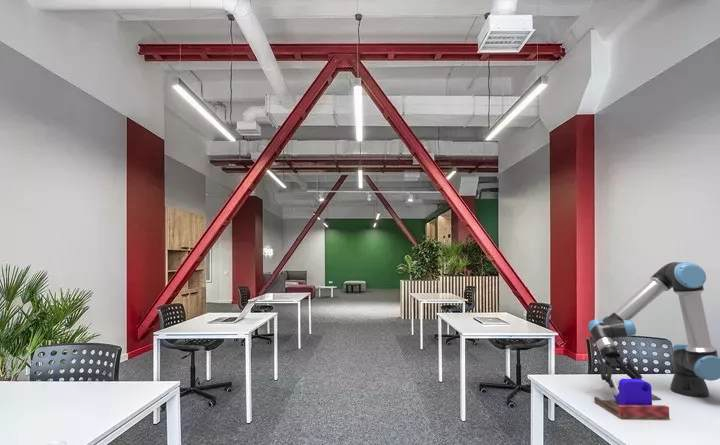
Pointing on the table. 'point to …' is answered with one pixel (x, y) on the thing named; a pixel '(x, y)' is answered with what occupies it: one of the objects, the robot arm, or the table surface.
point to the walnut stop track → (634, 410)
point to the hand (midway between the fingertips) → (630, 394)
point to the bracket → (634, 392)
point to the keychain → (655, 397)
